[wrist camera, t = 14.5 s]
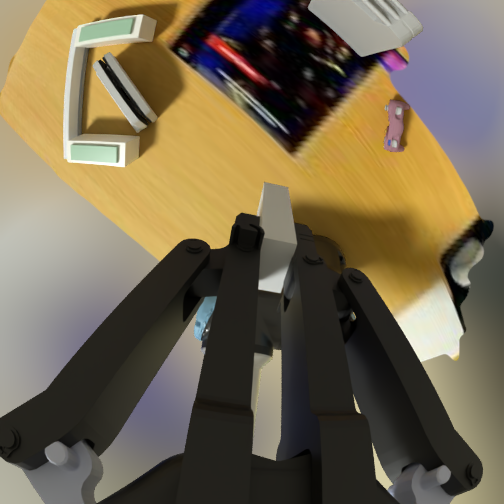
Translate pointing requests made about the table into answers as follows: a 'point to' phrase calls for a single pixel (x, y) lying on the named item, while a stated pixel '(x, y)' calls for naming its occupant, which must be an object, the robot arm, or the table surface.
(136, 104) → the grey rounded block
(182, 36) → the table surface
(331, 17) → the fuel canister
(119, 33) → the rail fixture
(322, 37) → the table surface
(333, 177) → the table surface
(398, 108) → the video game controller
